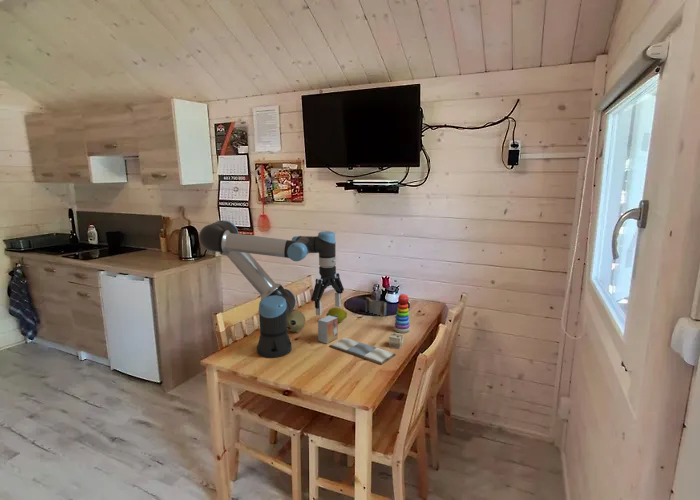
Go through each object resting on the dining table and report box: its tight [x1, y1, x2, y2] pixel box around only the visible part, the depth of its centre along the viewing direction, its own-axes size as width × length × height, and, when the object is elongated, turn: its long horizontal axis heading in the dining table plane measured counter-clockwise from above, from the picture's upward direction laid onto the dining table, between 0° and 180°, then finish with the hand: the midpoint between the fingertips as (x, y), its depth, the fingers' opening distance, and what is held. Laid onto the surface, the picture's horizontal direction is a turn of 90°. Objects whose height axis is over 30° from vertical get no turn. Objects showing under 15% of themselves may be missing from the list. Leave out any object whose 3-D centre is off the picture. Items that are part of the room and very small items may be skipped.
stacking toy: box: [393, 293, 411, 334], centre depth 204 cm, size 8×8×19 cm
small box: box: [317, 315, 339, 344], centre depth 194 cm, size 8×6×10 cm
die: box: [388, 332, 404, 350], centre depth 188 cm, size 5×5×5 cm
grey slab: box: [365, 296, 387, 317], centre depth 227 cm, size 11×3×10 cm, turn 60°
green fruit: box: [325, 307, 348, 324], centre depth 215 cm, size 11×8×8 cm
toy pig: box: [287, 309, 306, 334], centre depth 203 cm, size 10×12×11 cm
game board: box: [329, 337, 397, 366], centre depth 183 cm, size 11×28×1 cm, turn 52°
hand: (328, 310), depth 192 cm, fingers open, 13 cm apart
